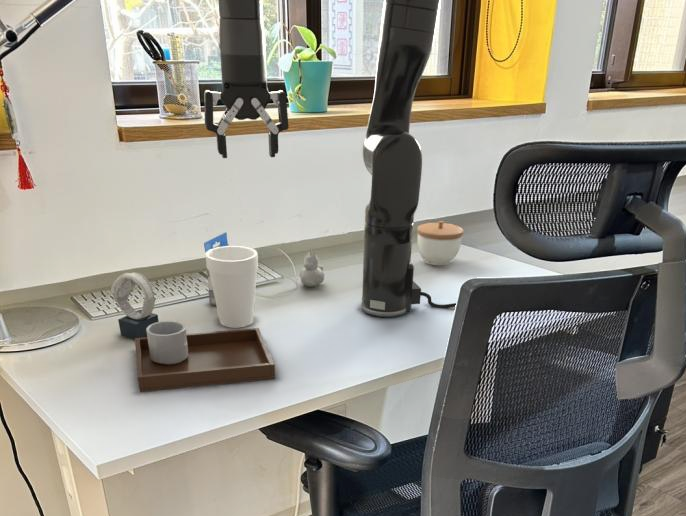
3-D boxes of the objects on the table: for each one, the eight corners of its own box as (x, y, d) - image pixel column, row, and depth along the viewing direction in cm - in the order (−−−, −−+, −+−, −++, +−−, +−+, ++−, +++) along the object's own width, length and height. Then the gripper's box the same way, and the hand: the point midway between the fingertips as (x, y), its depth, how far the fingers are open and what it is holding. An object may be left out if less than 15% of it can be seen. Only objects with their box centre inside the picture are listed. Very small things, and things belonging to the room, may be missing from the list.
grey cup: (187, 349, 124) (183, 319, 120) (190, 364, 119) (186, 333, 115) (150, 352, 122) (145, 322, 119) (151, 368, 117) (147, 337, 114)
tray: (259, 341, 129) (258, 327, 127) (275, 378, 117) (274, 364, 115) (136, 351, 124) (134, 337, 122) (139, 392, 111) (137, 377, 110)
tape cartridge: (226, 307, 142) (221, 245, 135) (208, 304, 143) (203, 243, 136) (246, 293, 148) (243, 233, 141) (230, 291, 150) (225, 231, 142)
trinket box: (408, 256, 173) (411, 216, 167) (448, 253, 176) (452, 214, 170) (424, 270, 164) (428, 229, 159) (466, 267, 167) (471, 226, 162)
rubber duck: (293, 286, 153) (292, 249, 148) (311, 278, 158) (311, 242, 153) (313, 291, 151) (313, 254, 146) (331, 283, 155) (331, 246, 151)
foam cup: (251, 333, 132) (247, 263, 124) (204, 327, 133) (197, 258, 126) (267, 314, 139) (264, 248, 132) (222, 309, 141) (216, 243, 133)
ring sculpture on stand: (134, 323, 134) (125, 265, 127) (167, 332, 131) (159, 274, 124) (112, 333, 130) (101, 274, 123) (145, 343, 127) (136, 283, 120)
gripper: (201, 52, 112) (210, 162, 121) (289, 53, 116) (292, 160, 125) (196, 48, 118) (206, 153, 127) (281, 49, 121) (284, 152, 131)
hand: (248, 156), depth 126 cm, fingers open, 8 cm apart
